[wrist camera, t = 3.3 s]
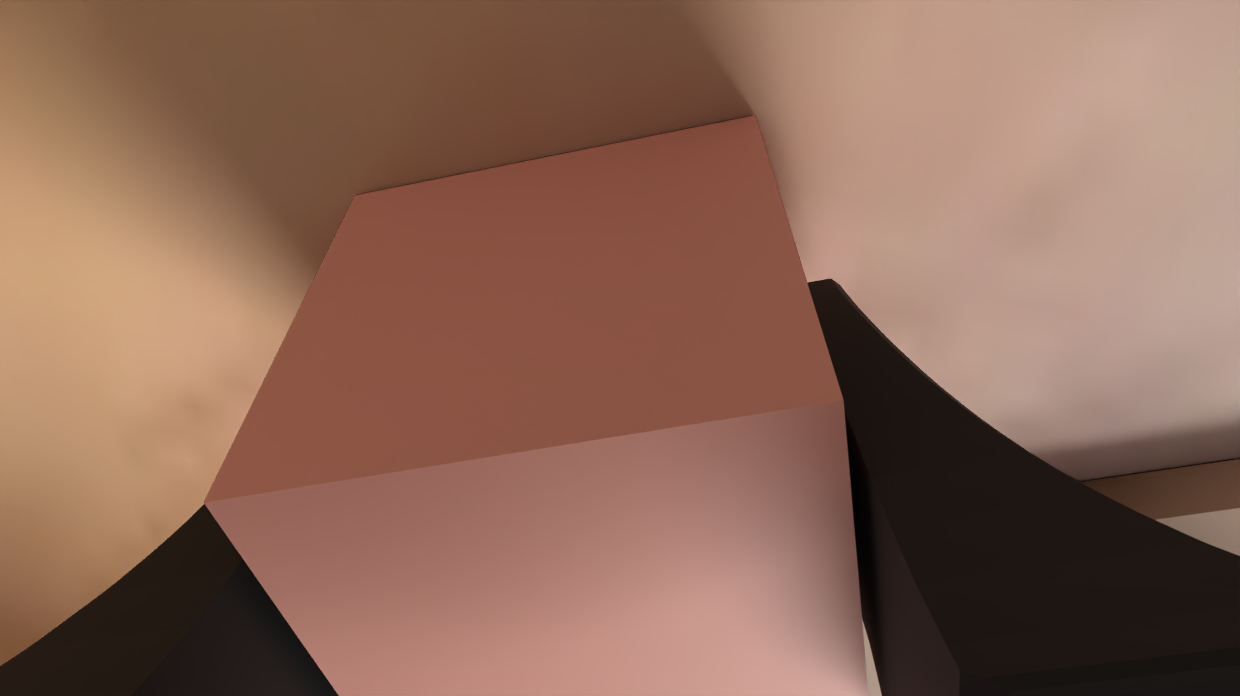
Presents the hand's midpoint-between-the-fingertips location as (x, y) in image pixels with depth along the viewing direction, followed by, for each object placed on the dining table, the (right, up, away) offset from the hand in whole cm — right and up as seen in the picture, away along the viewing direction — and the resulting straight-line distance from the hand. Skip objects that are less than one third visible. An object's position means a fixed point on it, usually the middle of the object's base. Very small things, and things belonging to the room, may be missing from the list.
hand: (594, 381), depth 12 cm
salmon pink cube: (0, +1, +1) cm, 1 cm away
